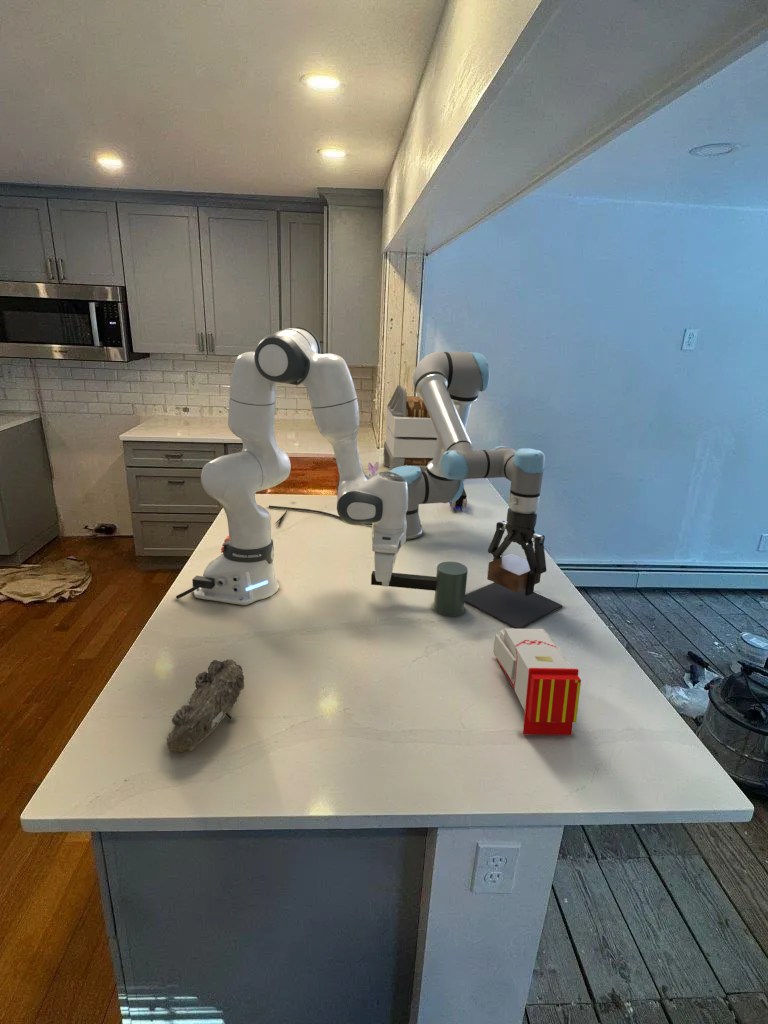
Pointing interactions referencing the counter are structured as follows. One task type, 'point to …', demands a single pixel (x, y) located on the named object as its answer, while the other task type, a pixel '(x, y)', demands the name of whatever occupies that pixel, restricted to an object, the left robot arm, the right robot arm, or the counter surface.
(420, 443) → the white wooden crate
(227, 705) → the fossil
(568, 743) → the counter surface
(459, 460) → the right robot arm
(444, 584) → the green mallet
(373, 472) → the figurine
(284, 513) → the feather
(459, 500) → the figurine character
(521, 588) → the brown square block
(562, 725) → the toy
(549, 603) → the coaster
